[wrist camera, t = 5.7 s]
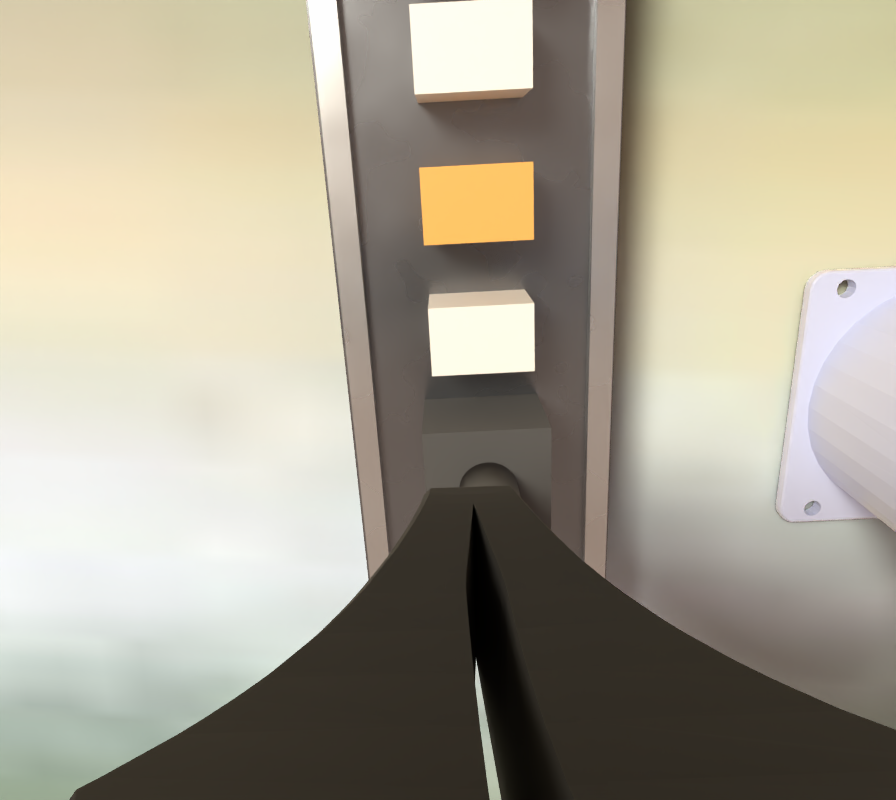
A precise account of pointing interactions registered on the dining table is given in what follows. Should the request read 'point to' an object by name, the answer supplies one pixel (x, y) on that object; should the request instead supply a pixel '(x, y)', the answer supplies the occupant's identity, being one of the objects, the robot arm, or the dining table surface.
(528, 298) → the breaker paddle
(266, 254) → the dining table surface
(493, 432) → the cord plug
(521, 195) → the block
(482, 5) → the block
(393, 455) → the strip
